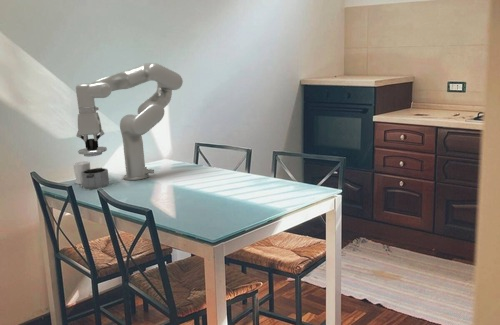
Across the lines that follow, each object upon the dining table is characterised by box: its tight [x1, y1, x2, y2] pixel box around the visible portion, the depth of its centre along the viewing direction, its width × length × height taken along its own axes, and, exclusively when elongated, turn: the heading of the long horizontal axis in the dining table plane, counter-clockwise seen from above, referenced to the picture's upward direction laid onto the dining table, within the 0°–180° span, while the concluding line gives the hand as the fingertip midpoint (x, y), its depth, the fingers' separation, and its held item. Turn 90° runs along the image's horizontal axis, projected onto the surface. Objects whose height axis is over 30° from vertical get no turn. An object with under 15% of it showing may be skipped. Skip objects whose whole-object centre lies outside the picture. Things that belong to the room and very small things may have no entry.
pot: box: [81, 167, 110, 190], centre depth 258 cm, size 12×17×7 cm
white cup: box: [72, 160, 91, 185], centre depth 264 cm, size 8×8×10 cm
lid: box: [77, 138, 108, 158], centre depth 254 cm, size 13×13×8 cm
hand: (92, 148), depth 254 cm, fingers closed on lid, 2 cm apart
